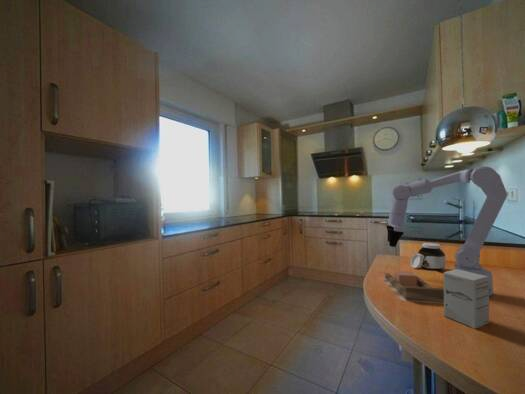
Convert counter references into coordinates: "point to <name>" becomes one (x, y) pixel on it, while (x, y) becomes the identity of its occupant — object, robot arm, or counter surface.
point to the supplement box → (466, 297)
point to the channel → (415, 291)
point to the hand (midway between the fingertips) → (391, 244)
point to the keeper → (406, 278)
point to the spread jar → (429, 257)
